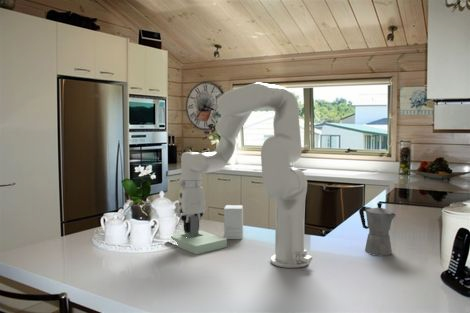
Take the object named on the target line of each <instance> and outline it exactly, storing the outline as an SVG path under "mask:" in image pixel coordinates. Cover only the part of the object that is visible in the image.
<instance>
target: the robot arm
mask: <svg viewBox="0 0 470 313" xmlns="http://www.w3.org/2000/svg"><path fill="white" fill-rule="evenodd" d="M217 107H218V112H220V114H221V115H220V118H219V119H218V121H217V123H215V126H214V127H215V131H216V132H217V134H218V135H219V136H220V140H219V143H218V145H217V146H216V148H215V150H214V151H207V152H196V151H186V152H182V153H181V163H180V164H181V166H180V167H181V171H180V173H181V181H180V182H179V183H178V185H179V187H180V186H181V187H180V188H179V193H178V201H177V204H178V205H177V212H176V213H175V216H176V217H177V218H180V220H181V221H182V222H183V231H185V232H188V233H189V232H190V222H189V215H192V214H193V215H196V216H199V221H201V218H202V217H203V215H205V214H206V213H207V208H206V196H205V190H204V187H202V174H207V173H212V172H219V171H221V170H223V168H225V167H226V165H228V163H229V162H230V159H231V158H232V157H233V155H234V153H235V148H236V145H237V144H236V143H237V142H236V141H237V140H236V138H237V136H238V135H239V133H240V132H241V130H242V129H243V127H244V125H245V123H246V122H247V120H248V119H249V117H250V115H251V114H252V112H253V111H258V110H259V111H260V110H262V111H273V112H274V115H273V116H274V117H273V135H271V136H269V137H268V138H266V139H265V140H264V142H263V144H262V146H261V151H260V160H261V175H262V177H261V178H262V185H263V190H264V192H265V195H266V196H267V197H268V198H269V199H271V200H272V201H273V200H274V201H276V203H275V235H274V236H275V240H274V241H275V244H274V245H275V246H274V247H275V249H274V250H275V251H274V252H275V254H273V255H272V256H270V263H271V264H272V265H275V266H277V267H281V268H287V269H296V268H298V269H299V268H304V267H306V266H307V265H310V264H311V263H312V262H311V261H312V260H313V257H312V256H311V255H308V253H307V250H306V249H305V215H306V214H305V213H306V212H305V211H306V210H305V209H306V197H307V192H308V179H307V176H306V175H305V172H304V171H303V170H301V169H300V168H297V167H293V166H292V167H291V165H290V164H293V163H296V162H297V161H299V159H300V158H301V156H302V141H301V139H302V138H301V126H300V111H299V110H300V109H299V102H298V100H297V97H296V96H295V94H294V93H293V92H292V91H291V90H289V89H287V88H286V87H283V86H280V85H276V84H270V83H263V82H255V83H250V84H246V85H244V86H240V87H238V88H234V89H230V90H227V91H226V92H224V93H223V94H222V95H221V96H220V97H219V100H218V103H217Z"/></svg>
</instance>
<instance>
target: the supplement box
mask: <svg viewBox="0 0 470 313" xmlns="http://www.w3.org/2000/svg"><path fill="white" fill-rule="evenodd" d="M223 227H224V229H223V232H224V234H223V238H225V239H227V240H243V237H244V206H243V205H241V204H239V205H237V204H236V205H235V204H233V205H232V204H226V205H225V206H224V208H223Z"/></svg>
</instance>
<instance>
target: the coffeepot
mask: <svg viewBox="0 0 470 313" xmlns="http://www.w3.org/2000/svg"><path fill="white" fill-rule="evenodd" d="M376 205H377V207H373V208H372V207H370V206H365V205H363V206H361V207H360V208H359V210H358V213H359V217H360V221H361V224H362V228H363V229H366V230H369V231H368V234H367V238H366V243H365V248H364V251H365V252H366V253H367V252H368V253H367V254H369V253H370V254H369V255H372V254H375V255H374V256H378V255H387V256H391V255H392V252H393V250H392V243H391V236H390V234H389V232H390V230H391V225H392V221H393V219H394V218H395V217H397V215H396V213H394V211H393V210H390V209H388V208H387V209H386V208H383V207H382V205H383V203H382V202H377V203H376ZM364 212H365V213H364ZM365 214H366V218H365ZM366 220H367V221H366ZM366 222H367V223H366ZM366 224H367V225H366Z"/></svg>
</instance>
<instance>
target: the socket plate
mask: <svg viewBox="0 0 470 313" xmlns="http://www.w3.org/2000/svg"><path fill="white" fill-rule="evenodd" d="M174 233H175V234H174V235H173V236H171V238H172V239H173V240H175V241H176V242H177V244H178V248H180V249H182V250H185V251H187V252H190V253H192V254H194V255H199V254H200V255H201V254H204V253H208V252H211V251H216V250H220V249H224V248H227V247H228V239H225V237H222V236H218V235H215V234H214V233H210V232H207V231H204V230H200V229H199V234H196V235H188V234H185V233H184V230H183V231H179V232H174ZM186 237H187V238H186Z"/></svg>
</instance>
